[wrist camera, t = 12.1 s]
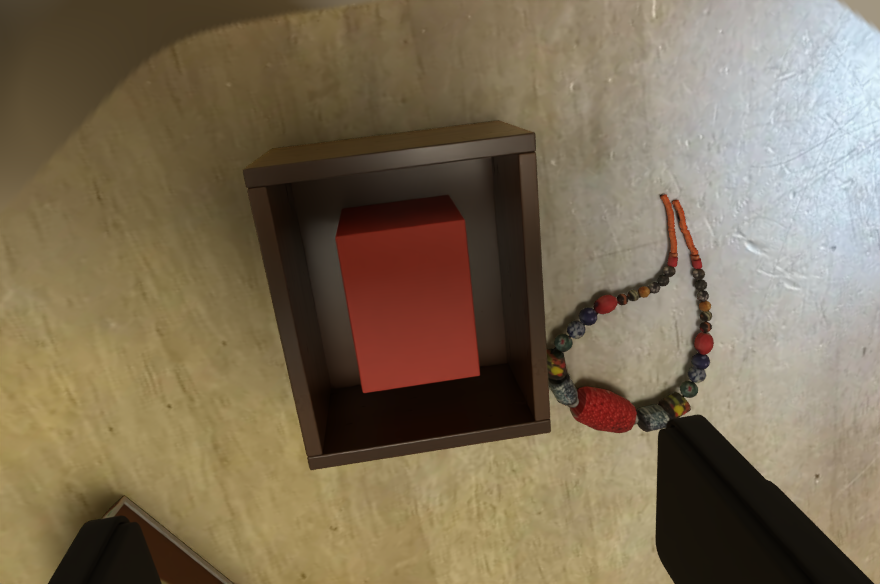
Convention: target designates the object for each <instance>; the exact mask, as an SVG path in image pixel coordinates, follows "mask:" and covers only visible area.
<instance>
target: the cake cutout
mask: <svg viewBox="0 0 880 584" xmlns="http://www.w3.org/2000/svg"><path fill="white" fill-rule="evenodd" d="M120 515H122V516H126V517H127V518H128V519H129V521H130V523H131V522H137V523H138V524H139V525H140V527H141V529H142V532H143V535H144V537H145V540H146V543H147V545H148V548H149V551H150V553H151V556H152V559H153V561H154V564H155V567H156V569H157V572H158V575H159V577H160V580H161V582H162V584H233V583H232V582H231V581H229V580H228V579H227V578H226V577H224V576H223V575H222V574H221V573H219V572H218V571H217V570H216V569H215V568H213V567H212V566H211V565H210V564H208V563H207V562H206V561H205V560H203V559H202V558H201V557H200V556H198V555H197V554H196V553H195V552H194V551H192V550H191V549H190V548H189V547H187V546H186V545H185V544H184V543H182V542H181V541H180V540H179V539H177V538H176V537H175V536H174V535H172V534H171V533H170V532H169V531H168V530H166V529H165V528H164V527H163V526H161V525H160V524H159V523H158V522H156V521H155V520H154V519H153V518H151V517H150V516H149V515H148V514H146V513H145V512H144V511H143V510H142V509H140V508H139V507H138V506H137V505H135V504H134V503H133V502H132V501H130V500H129V499H128V498H127V497H125V496H123V497H122V498H121V499H120V500H119V501H118V502H116V503H115V504H114V505H113V506H112V507H111V508H110V509H109V510H108V511H107V512H106V513H105V515H104V516H103V517H102V518H101V519H103V518H109V517H115V516H120Z"/></svg>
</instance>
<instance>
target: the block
mask: <svg viewBox="0 0 880 584" xmlns="http://www.w3.org/2000/svg"><path fill="white" fill-rule="evenodd" d="M335 240H336V246H337V251H338V257H339V263H340V268H341V274H342V280H343V285H344V291H345V296H346V302H347V308H348V313H349V319H350V325H351V330H352V336H353V341H354V347H355V353H356V358H357V364H358V369H359V375H360V381H361V386H362V392H363V393H368V392H375V391H382V390H388V389H395V388H402V387H408V386H415V385H421V384H428V383H435V382H441V381H448V380H455V379H461V378H468V377H474V376H479V375H480V366H479V356H478V346H477V336H476V326H475V316H474V305H473V295H472V285H471V275H470V265H469V254H468V244H467V234H466V224H465V219H464V218H463V216H462V215H461V213H460V212H459V210H458V208H457V207H456V205H455V204H454V202H453V201H452V199H451V198H450V196H449V195H443V196H435V197H428V198H420V199H412V200H405V201H397V202H390V203H382V204H374V205H367V206H359V207H352V208H344V209H342V210H341V215H340V219H339V223H338V228H337V232H336V237H335Z"/></svg>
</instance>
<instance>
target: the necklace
mask: <svg viewBox="0 0 880 584" xmlns="http://www.w3.org/2000/svg"><path fill="white" fill-rule="evenodd" d="M660 197H661V199H662V200H663V203H664V205H665V207H666V212H667V215H668V226H669V228H668V231H669V237H670V243H671V252H669V258H668V263H667V264H668V266H666V267H665V268H664V270H663V273H664V275H660V276H659V277H658V279H657V282H658V283H657V282H652V283H650V284H649V286H648V287H645V286H642V287H640V288H639V289H638V292H637V291H636V290H631V291H629V292H628V294H627V296H626V295H625V294H619V295H618V296H617V299H616V297H614V296H611V295H604V296H601V297H600V298H599V299H597V300H596V301H595V303H594V306H593V307H594V309H592V308H589V307H588V308H584V309H582V310H581V312H580V314H579V319H580V322H579V321H573V322H571V323H570V324H569V325H568V327H567V333H568V334H569V336H568V335H566V334H560V335H558V336H557V337H556V338H555V342H554V344H555V348H554V349H547V368H548V385H549V387H550V388H551V390H552V392H553V394H554V396H555V397H556V399H557V401H558V402H559V403H561V404H564V405H568V406H569V407H570V411H571V413H572V415H573V417H574V418H575V420H577V421H578V422H580V423H583V424H585V425H587V426H589V427H591V428H593V429H595V430H600V431H607V432H614V433H623V432H627V431H629V430H631V429H632V427H633V425H635V424H638V426H639V428H641V429H642V430H643V431H646V432H649V431H653V430H658V429H662V428H666V424H667V422H668V421H669V420H670V419H675V418H679V417H680V416H682V415H684V414H685V413H687V412H689V411H690V410H691V408H690V405H689V403H688V402H687V400H686V399H685V398H684V397H687V398H692V397H694V396H696V394H697V393H698V387H697V385H696V384H695V383H700V382H702V381H703V380H705V377H706V373H705V370H704V369H706V368H707V367H708V366H709V364H710V360H709V357H708V356H707V355H706V354H708V353H709V352H711V350H712V348H713V344H714V342H713V338H712V336H711V335H710V334H709V333H707V332H709V331H710V330H711V329H712V325H711V324H710V323H709V322H707V321H710V320H711V318H712V313H711V312H709V310H710V308H711V304H710V303H709V302H708V301H706V300H707V299H708V298H709V294H708V293H707V291H704V289H706V287H707V283H706V282H705V280H702V279H703V278H704V276H705V272H704V271H703V270H702V269H701V268H702V262H701V259H700V258H699V255H698V250H697V249H696V248H695V245H694V244H693V240H692V237H691V235H690V232H689V230H687V225H686V221H685V220H686V219H685V216H684V214H685V213H684V211H683V208H682V207H681V205H680V202H679V200H673V201H672V204H674V207H675V209H676V210H677V214H678V219H679V223H680V224H679V225H680V227H681V232H682V233H684V237H685V239H686V243H687V246H688V249H690V250H691V252H692V254H691V255H690V256H691V260H692V265H693V267H694V268H695V270H694V271H693V277H694V278H695V279H696V280H698V281H696V283H695V288H696V289H697V290H699V292H698V293H697V299H698V300H699V301H701V302H700V304H699V309H700V310H702V311H703V312H701V314H700V318H701V319H702V320H703V321H705V322H702V323H701V324H700V329H701V331H702V332H701V333H699V334H698V335H697V336H696V338H695V341H694V347H695V349H696V351H697V352H698V353H697V354H695V355H694V356H693V357H692V360H691V362H692V364H693V367H691V368H690V369H689V371H688V377H689V379H690V380H691V381H692V382H691V381H685V382H683V383H682V385H681V386H680V391H681V394H682V395H681V394H679V393H677V392H674V393H672V394H671V395H669V396H668V397H666V398H664V399H663V400H661V401H659V403H658V405H657V404H654V405H649V406H645V407H640V408H637V409H635V407H634V406H633V404H632V403H631V402H630V401H629V400H627V399H625V398H623V397H621V396H619V395H617V394H615V393H613V392H611V391H609V390H606V389H600V388H594V387H587V386H585V387H581V388H579V389H576V387H575V385H574V383H573V381H572V380H571V378H570V376H569V374H567V370H566V364H565V358H564V353H562V352H566V351H568V350H569V349H570V348H571V347H572V344H573V343H572V339H571V337H572V338H575V339H578V338H580V337H582V336H583V335H584V333H585V325H592V324H594V323H595V322H596V320H597V314H606V313H610V312H611V311H613V310H614V309H615V308H616V306H617V304H619V305H625V304H627V302H628V299H629V300H630V301H636V300H638V298H640V297H643V298H645V297H647V296H648V295H649V294H650V293H658V292H659V290H660V286H666V285H668V283H669V277H672V276H673V275H674V274H675V272H676V271H675V268H674V267H676V266H677V261H678V257H677V256H678V253H676V252H677V240H676V235H675V229H674V227H675V225H674V224H675V223H674V212H673V210H672V205H671V203H670V201H669V199H668V197H667V194H664V195H660ZM582 323H583V324H582Z"/></svg>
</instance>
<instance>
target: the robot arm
mask: <svg viewBox="0 0 880 584" xmlns="http://www.w3.org/2000/svg"><path fill="white" fill-rule="evenodd" d="M656 548H657V552H658V555H659V558H660V560H661V562H662V564H663V565H664V567H665V569H666V570H667V572H668V574H669V575H670V577H671V579H672V580H673V582H674V583H675V584H874V583H873V582H872V581H871V580H870V579H869V578H868V577H867V576H866V575H865V574H864V573H863V572H862V571H861V570H860V569H859V568H858V567H857V566H856V565H855V564H854V563H853V562H852V561H851V560H850V559H849V558H848V557H847V556H846V555H845V554H844V553H843V552H842V551H841V550H840V549H839V548H838V547H837V546H836V545H835V544H834V543H833V542H832V541H831V540H830V539H829V538H828V537H827V536H826V535H825V534H824V533H823V532H822V531H821V530H820V529H819V528H818V527H817V526H816V525H815V524H814V523H813V522H812V521H811V520H810V519H809V518H808V517H807V516H806V515H805V514H804V513H803V512H802V511H801V510H800V509H799V508H798V507H797V506H796V505H795V504H794V503H793V502H792V501H791V500H790V499H789V498H788V497H787V496H786V495H785V494H784V493H783V492H782V491H781V490H780V489H779V488H778V487H777V486H776V485H775V484H773V483H772V482H771V481H768V480H766V479H765V478H764V477H763V476H762V475H761V474H760V473H759V472H758V471H757V470H756V469H755V468H754V467H753V466H752V465H751V464H750V463H749V462H748V461H747V460H746V459H745V458H744V457H743V456H742V455H741V454H740V453H739V452H738V451H737V450H736V449H735V448H734V447H733V446H732V445H731V444H730V443H729V442H728V441H727V440H726V439H725V437H724V436H723V435H722V434H721V433H720V432H719V431H718V430H717V429H716V428H715V427H714V426H713V425H712V424H711V423H710V422H709V421H708V420H707V419H706V418H705V417H703V416H702V415H693V416H687V417H681V418H675V419H670V420H669V421H668V422H667V424H666V428H665V429H661V430H660V431H659V434H658V462H657V502H656ZM48 584H162V582H161V580H160V577H159V575H158V572H157V569H156V567H155V564H154V561H153V559H152V556H151V553H150V551H149V548H148V545H147V543H146V540H145V537H144V535H143V532H142V529H141V527H140V525H139V524H138V523H137V522H131V523H130V521H129V519H128V518H127V517H126V516H122V515H120V516H115V517H109V518H103V519H97V520H92V521H88V522H86V523H85V524H84V525H83V526H82V528H81V529H80V531H79V533H78V534H77V536H76V538H75V539H74V541H73V543H72V544H71V546H70V548H69V549H68V551H67V553H66V554H65V556H64V558H63V559H62V561H61V563H60V564H59V566H58V568H57V569H56V571H55V573H54V574H53V576H52V578H51V579H50V581H49V583H48Z"/></svg>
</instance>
